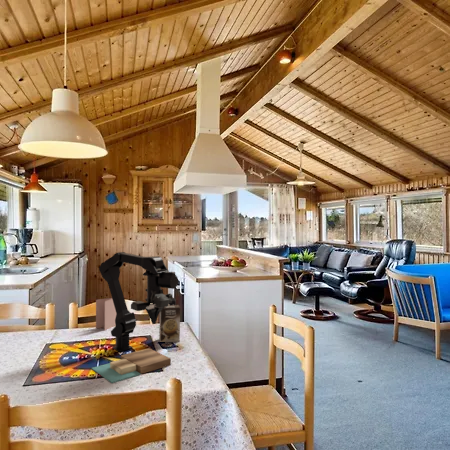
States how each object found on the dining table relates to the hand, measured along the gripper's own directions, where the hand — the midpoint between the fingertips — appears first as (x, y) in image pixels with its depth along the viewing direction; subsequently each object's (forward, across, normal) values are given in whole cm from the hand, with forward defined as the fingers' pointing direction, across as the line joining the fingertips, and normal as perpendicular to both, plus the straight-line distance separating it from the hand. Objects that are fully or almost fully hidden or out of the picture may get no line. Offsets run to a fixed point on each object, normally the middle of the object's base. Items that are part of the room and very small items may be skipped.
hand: (153, 323), depth 156 cm
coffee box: (+13, +16, +12) cm, 24 cm away
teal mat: (+13, -20, -6) cm, 25 cm away
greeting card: (+13, +4, +51) cm, 53 cm away
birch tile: (+13, -17, -6) cm, 22 cm away
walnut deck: (+13, -8, -6) cm, 16 cm away
